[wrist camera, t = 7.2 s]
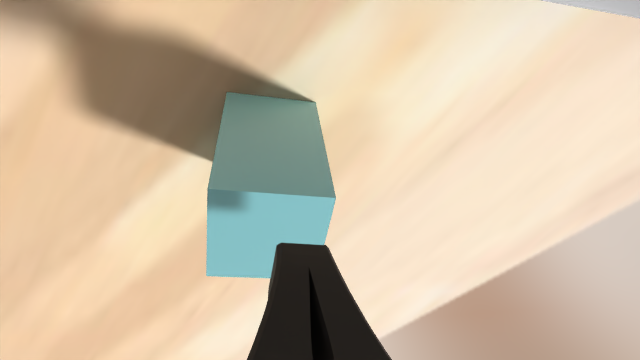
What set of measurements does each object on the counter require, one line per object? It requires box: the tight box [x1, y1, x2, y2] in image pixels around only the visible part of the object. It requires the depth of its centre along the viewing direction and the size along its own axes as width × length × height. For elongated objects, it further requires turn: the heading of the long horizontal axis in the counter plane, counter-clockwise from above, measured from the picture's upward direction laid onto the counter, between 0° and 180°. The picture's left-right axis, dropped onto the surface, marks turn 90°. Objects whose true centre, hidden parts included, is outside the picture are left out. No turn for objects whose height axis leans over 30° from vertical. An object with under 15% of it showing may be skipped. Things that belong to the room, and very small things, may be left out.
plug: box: [206, 92, 336, 278], centre depth 16 cm, size 4×4×7 cm
